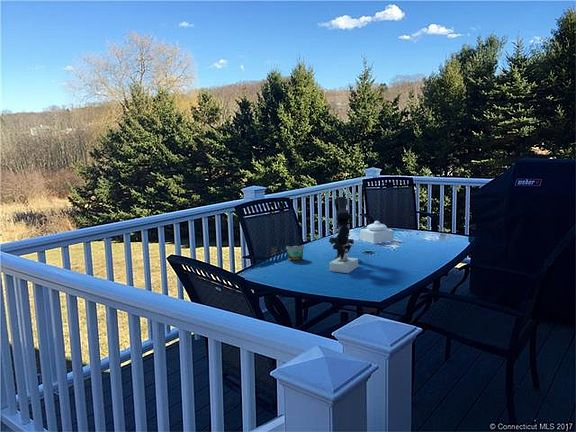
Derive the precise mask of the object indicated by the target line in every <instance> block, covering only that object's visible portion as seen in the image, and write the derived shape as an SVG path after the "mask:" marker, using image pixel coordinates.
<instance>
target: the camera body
mask: <svg viewBox="0 0 576 432" xmlns="http://www.w3.org/2000/svg"><path fill="white" fill-rule="evenodd" d="M328 265H329V272H336V273H341V274H342V273H344V274H349V273H351V272H353V271H354V270H356V269H357V268H358V267H359V258H356V257H348V261H346V262H342V261H340V257H339V258H335V259H333V260H331V261H330V262H329V264H328Z"/></svg>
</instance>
